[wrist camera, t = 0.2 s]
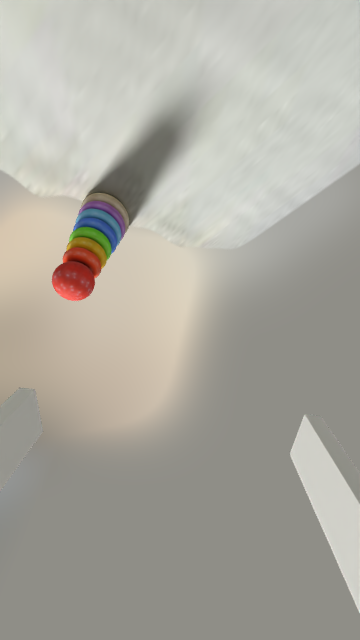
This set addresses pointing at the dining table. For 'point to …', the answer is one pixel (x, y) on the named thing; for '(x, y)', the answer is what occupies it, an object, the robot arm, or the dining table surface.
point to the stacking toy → (90, 245)
